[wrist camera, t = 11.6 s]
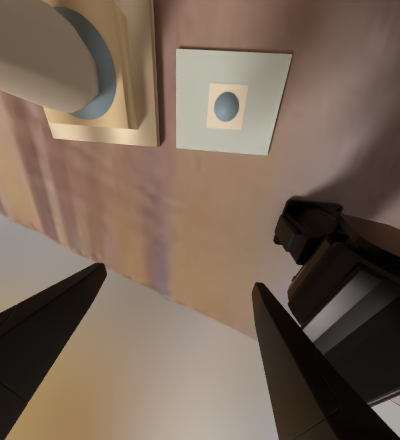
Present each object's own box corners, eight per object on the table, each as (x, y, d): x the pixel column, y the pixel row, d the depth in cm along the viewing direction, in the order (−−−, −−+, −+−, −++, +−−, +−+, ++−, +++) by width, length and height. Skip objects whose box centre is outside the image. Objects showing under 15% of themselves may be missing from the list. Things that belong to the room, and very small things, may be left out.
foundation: (153, -1, 13) (136, -38, 10) (160, 146, 18) (150, 148, 15) (17, -5, 14) (-33, -41, 11) (61, 138, 19) (34, 138, 16)
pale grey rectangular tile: (290, 56, 14) (292, 53, 13) (266, 155, 18) (267, 155, 17) (177, 50, 14) (175, 48, 14) (177, 147, 18) (176, 147, 18)
